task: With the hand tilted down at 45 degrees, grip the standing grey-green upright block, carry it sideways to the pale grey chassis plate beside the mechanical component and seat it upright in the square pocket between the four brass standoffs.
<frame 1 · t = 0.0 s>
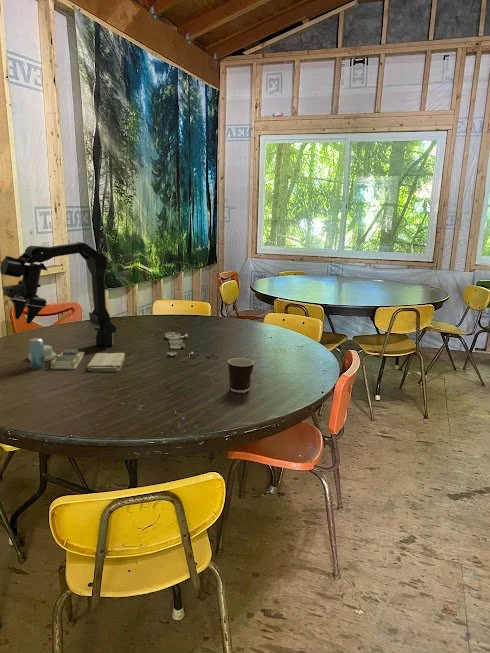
hand: (22, 321, 170), 15 cm above the table, tool pointing down, fingers open, 9 cm apart
washcloth: (107, 365, 175), on the table
mechanical component: (42, 358, 179), on the table
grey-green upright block: (37, 367, 168), on the table
drone parts: (191, 347, 205), on the table
chassis: (68, 361, 176), on the table
coffee mug: (241, 389, 157), on the table
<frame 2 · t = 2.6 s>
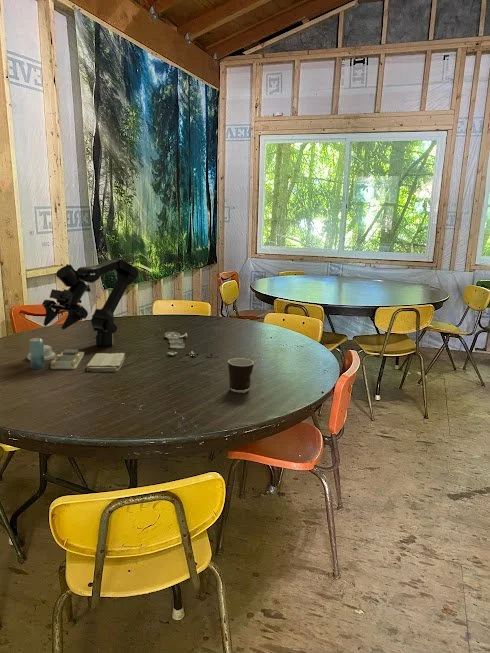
hand: (53, 327, 172), 13 cm above the table, tool tilted 45°, fingers open, 9 cm apart
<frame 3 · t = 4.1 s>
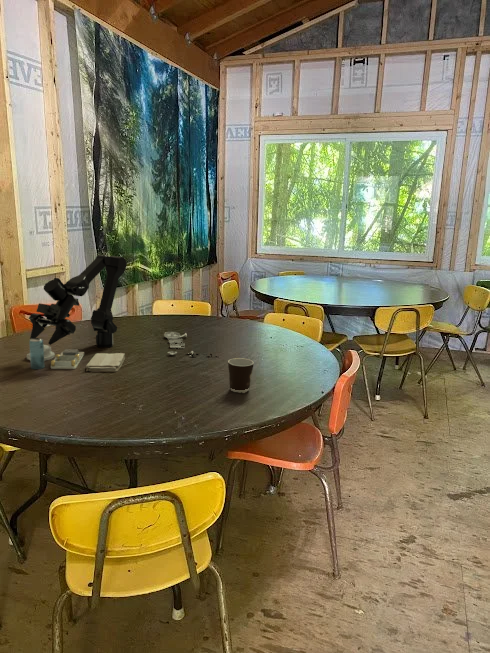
hand: (40, 342, 167), 9 cm above the table, tool tilted 45°, fingers open, 9 cm apart
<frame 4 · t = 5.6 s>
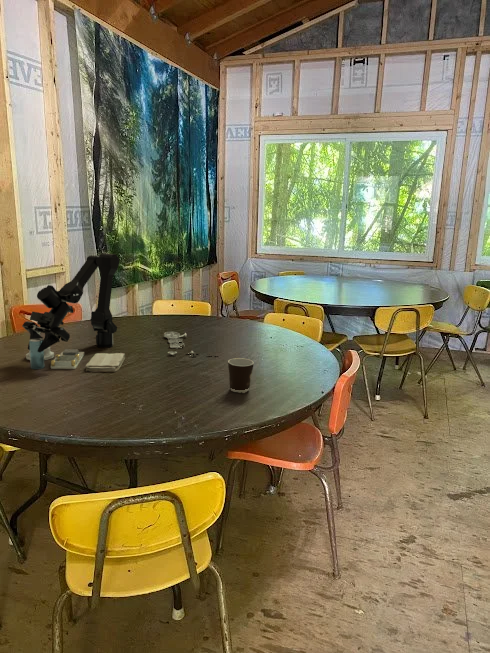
hand: (33, 350, 165), 7 cm above the table, tool tilted 45°, fingers closed on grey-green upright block, 5 cm apart
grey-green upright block: (37, 367, 168), on the table, touching gripper
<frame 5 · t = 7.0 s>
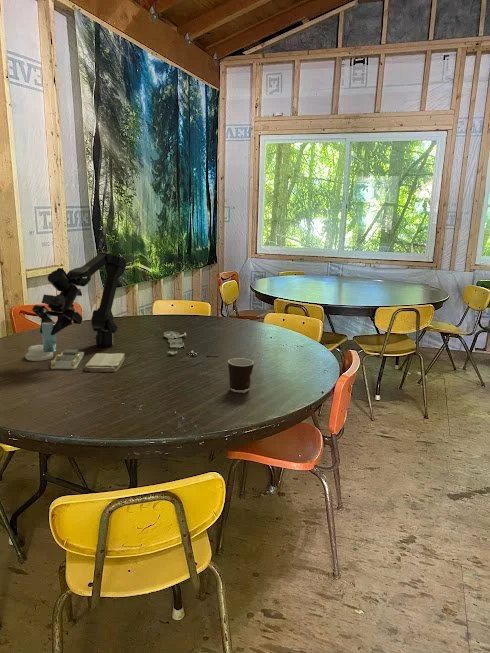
hand: (46, 333, 165), 13 cm above the table, tool tilted 45°, fingers closed on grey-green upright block, 5 cm apart
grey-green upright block: (50, 350, 168), point 6 cm above the table, touching gripper
when the fingers open (9 cm above the table, at t = 8.7 s): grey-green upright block drops 1 cm, resting on chassis.
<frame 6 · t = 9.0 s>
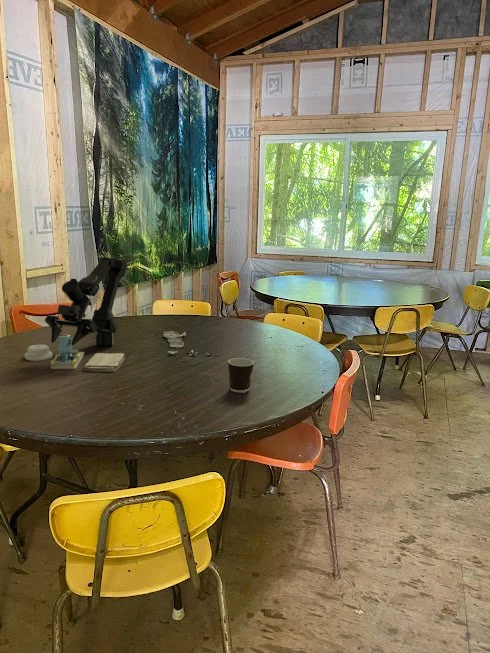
hand: (62, 343, 168), 9 cm above the table, tool tilted 45°, fingers open, 8 cm apart
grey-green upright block: (65, 362, 171), point 1 cm above the table, touching chassis
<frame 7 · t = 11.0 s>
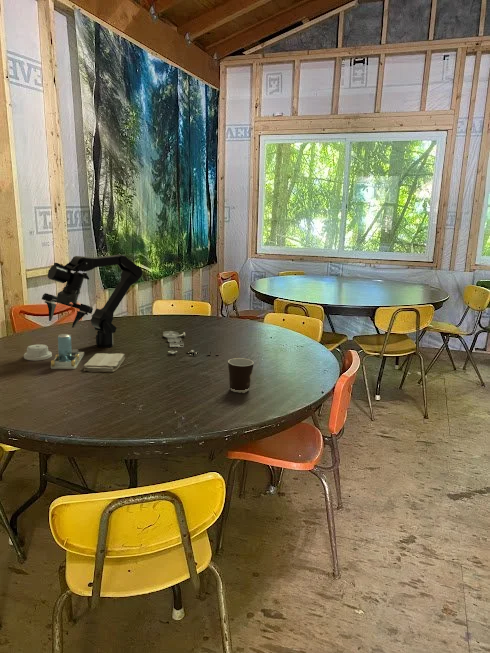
hand: (61, 324, 182), 12 cm above the table, tool tilted 20°, fingers open, 9 cm apart
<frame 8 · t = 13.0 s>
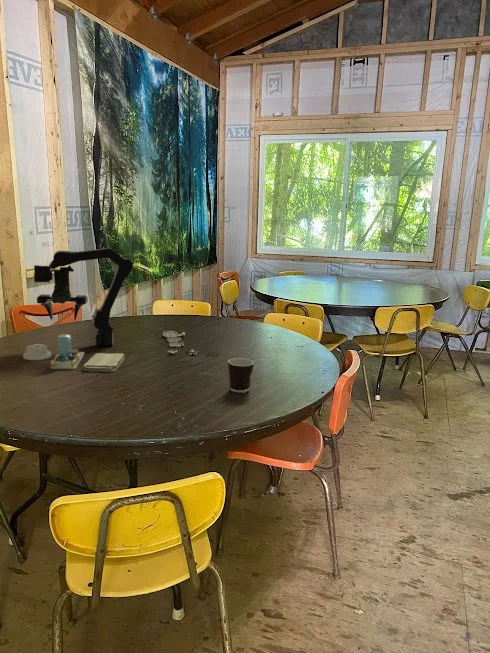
hand: (63, 319, 190), 12 cm above the table, tool pointing down, fingers open, 9 cm apart
at the end: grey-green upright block 0.1 cm from the target spot on the chassis, point 1.0 cm above the chassis's base; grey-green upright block tilted 0°; the gripper is holding nothing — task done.
